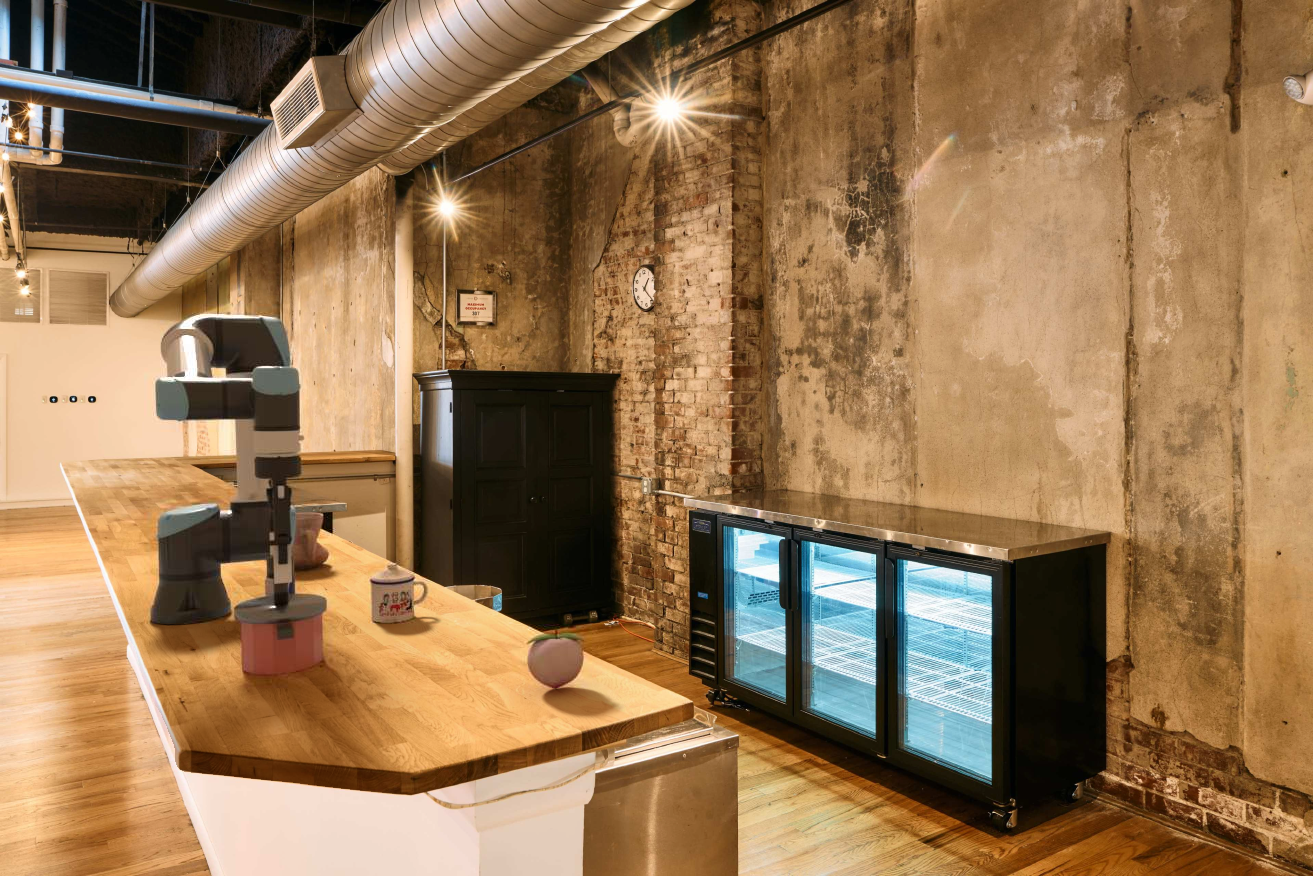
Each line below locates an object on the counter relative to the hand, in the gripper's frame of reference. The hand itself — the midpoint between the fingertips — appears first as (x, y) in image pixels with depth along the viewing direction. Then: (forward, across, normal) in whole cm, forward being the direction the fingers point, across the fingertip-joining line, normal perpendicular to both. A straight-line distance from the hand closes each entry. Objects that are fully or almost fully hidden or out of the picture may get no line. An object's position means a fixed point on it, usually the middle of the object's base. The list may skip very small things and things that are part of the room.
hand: (280, 574), depth 150 cm
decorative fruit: (+16, -35, -39) cm, 54 cm away
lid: (+7, 0, 0) cm, 7 cm away
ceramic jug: (+16, +84, -9) cm, 86 cm away
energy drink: (+16, +18, -1) cm, 24 cm away
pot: (+16, 0, 0) cm, 16 cm away
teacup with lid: (+16, +21, -24) cm, 36 cm away
